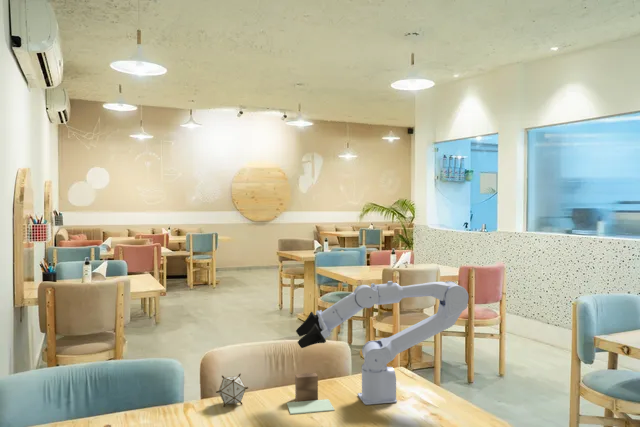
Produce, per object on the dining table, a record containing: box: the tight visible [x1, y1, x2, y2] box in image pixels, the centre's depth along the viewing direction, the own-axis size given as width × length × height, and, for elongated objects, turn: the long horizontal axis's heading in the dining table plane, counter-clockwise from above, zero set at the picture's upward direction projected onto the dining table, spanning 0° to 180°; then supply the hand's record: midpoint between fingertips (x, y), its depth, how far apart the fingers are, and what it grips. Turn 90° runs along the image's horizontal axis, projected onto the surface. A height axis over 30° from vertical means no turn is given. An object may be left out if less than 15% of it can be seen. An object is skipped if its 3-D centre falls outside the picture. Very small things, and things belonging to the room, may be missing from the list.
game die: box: [215, 372, 249, 408], centre depth 140 cm, size 9×8×10 cm
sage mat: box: [286, 398, 335, 415], centre depth 137 cm, size 12×8×1 cm, turn 101°
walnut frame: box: [294, 372, 319, 402], centre depth 143 cm, size 6×3×7 cm, turn 101°
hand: (298, 339), depth 143 cm, fingers open, 7 cm apart
